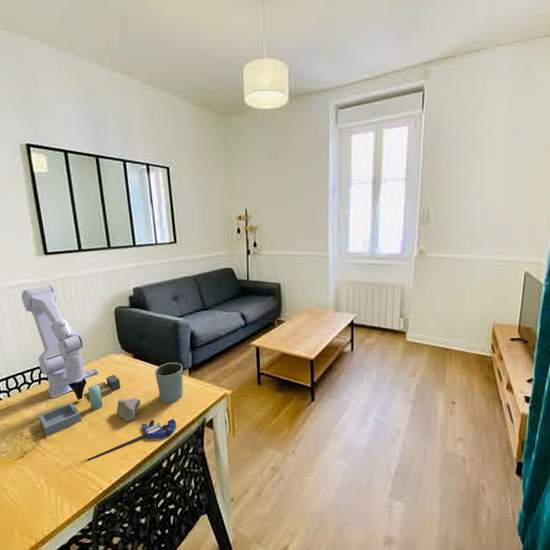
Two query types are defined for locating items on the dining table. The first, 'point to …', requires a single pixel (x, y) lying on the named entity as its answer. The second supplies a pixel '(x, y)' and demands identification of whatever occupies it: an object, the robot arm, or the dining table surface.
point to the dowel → (95, 397)
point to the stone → (128, 408)
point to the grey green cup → (169, 382)
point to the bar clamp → (147, 434)
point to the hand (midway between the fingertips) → (79, 398)
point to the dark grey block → (113, 382)
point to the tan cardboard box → (104, 389)
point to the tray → (59, 418)
